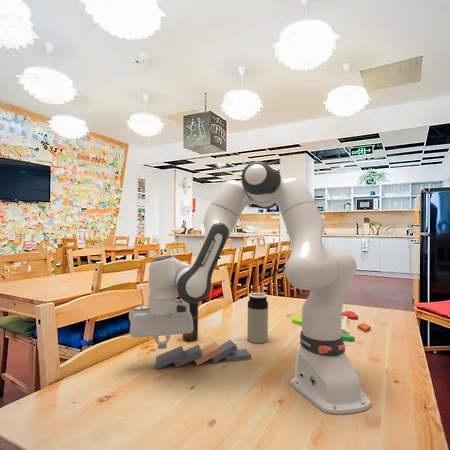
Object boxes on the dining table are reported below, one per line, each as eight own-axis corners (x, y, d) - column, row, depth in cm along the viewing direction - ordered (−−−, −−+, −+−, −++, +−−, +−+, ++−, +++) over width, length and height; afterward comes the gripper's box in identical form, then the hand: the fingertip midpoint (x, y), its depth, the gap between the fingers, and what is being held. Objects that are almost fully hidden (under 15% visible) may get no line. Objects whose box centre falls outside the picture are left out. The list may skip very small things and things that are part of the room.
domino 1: (158, 361, 103) (183, 350, 104) (157, 369, 98) (184, 357, 100) (156, 356, 103) (181, 345, 104) (155, 363, 98) (182, 351, 99)
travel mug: (266, 344, 118) (267, 297, 118) (246, 342, 120) (246, 296, 119) (268, 336, 126) (268, 292, 125) (248, 335, 127) (249, 291, 127)
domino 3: (193, 359, 105) (217, 346, 108) (197, 365, 100) (221, 352, 103) (191, 354, 105) (215, 341, 108) (195, 360, 100) (219, 347, 103)
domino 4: (209, 356, 107) (231, 344, 110) (214, 362, 102) (237, 350, 106) (207, 351, 107) (230, 339, 110) (212, 357, 102) (236, 344, 105)
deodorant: (180, 337, 124) (180, 300, 124) (194, 335, 127) (194, 298, 126) (185, 343, 119) (186, 304, 118) (200, 340, 122) (200, 302, 121)
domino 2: (175, 360, 104) (200, 349, 106) (176, 367, 99) (202, 356, 101) (173, 355, 104) (198, 344, 105) (173, 361, 99) (200, 350, 101)
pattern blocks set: (383, 345, 119) (383, 337, 119) (294, 339, 125) (294, 331, 125) (357, 315, 157) (357, 309, 157) (290, 311, 162) (290, 305, 162)
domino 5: (221, 357, 108) (245, 354, 111) (225, 363, 103) (250, 360, 106) (221, 351, 108) (245, 348, 110) (225, 357, 103) (250, 354, 106)
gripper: (128, 310, 95) (128, 355, 95) (194, 306, 100) (194, 349, 100) (129, 304, 101) (129, 346, 101) (192, 301, 106) (191, 341, 106)
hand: (162, 348), depth 101 cm, fingers closed
